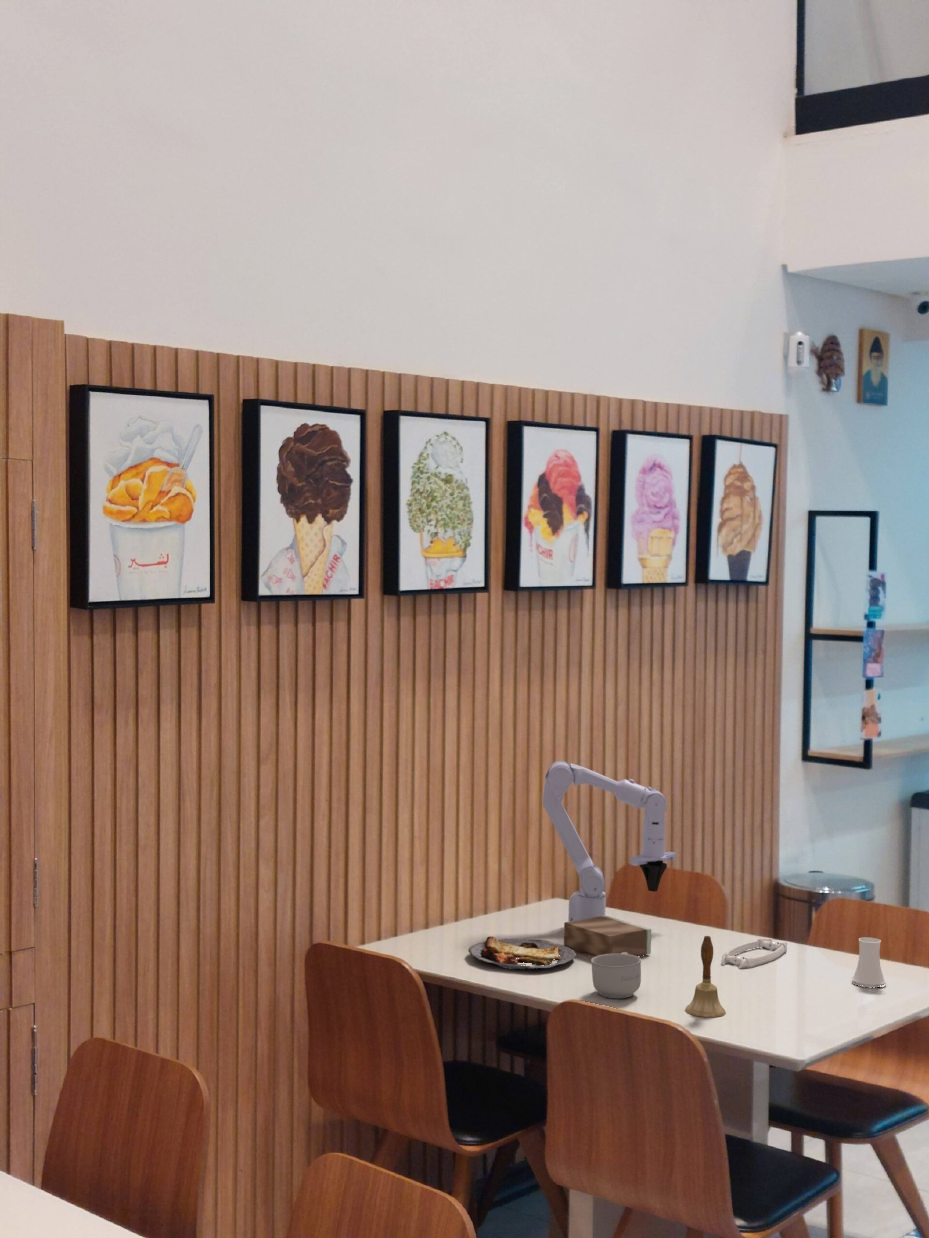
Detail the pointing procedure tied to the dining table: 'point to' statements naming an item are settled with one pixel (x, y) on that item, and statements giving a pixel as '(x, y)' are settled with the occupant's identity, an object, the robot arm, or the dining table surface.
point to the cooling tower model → (869, 964)
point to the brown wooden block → (604, 937)
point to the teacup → (616, 974)
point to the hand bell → (706, 988)
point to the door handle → (751, 962)
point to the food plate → (521, 953)
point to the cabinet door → (648, 931)
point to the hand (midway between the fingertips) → (652, 890)
